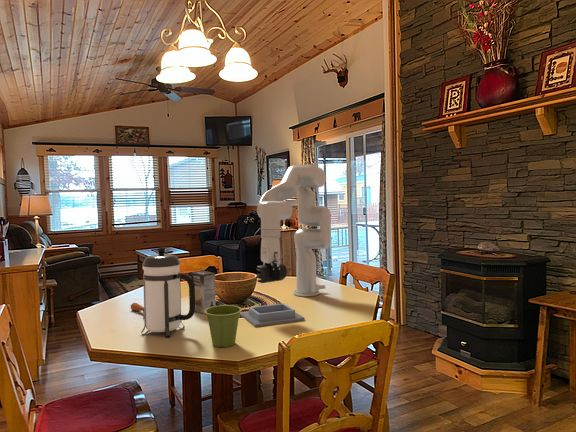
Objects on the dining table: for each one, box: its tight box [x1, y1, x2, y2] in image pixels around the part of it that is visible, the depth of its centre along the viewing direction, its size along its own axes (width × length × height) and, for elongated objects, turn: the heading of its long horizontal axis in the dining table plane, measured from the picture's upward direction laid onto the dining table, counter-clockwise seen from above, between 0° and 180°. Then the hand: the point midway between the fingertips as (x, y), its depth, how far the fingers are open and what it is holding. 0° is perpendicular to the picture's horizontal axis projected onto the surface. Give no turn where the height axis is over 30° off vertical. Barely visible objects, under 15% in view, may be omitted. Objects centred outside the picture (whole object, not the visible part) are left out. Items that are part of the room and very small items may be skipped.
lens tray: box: [240, 303, 306, 328], centre depth 170 cm, size 20×18×4 cm
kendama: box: [130, 302, 144, 314], centre depth 177 cm, size 6×6×20 cm
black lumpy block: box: [256, 262, 288, 284], centre depth 170 cm, size 10×7×7 cm
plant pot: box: [205, 304, 243, 348], centre depth 140 cm, size 12×12×11 cm
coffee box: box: [190, 270, 216, 315], centre depth 182 cm, size 9×6×16 cm
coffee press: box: [140, 246, 196, 338], centre depth 153 cm, size 17×16×30 cm
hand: (271, 278), depth 170 cm, fingers closed on black lumpy block, 8 cm apart
